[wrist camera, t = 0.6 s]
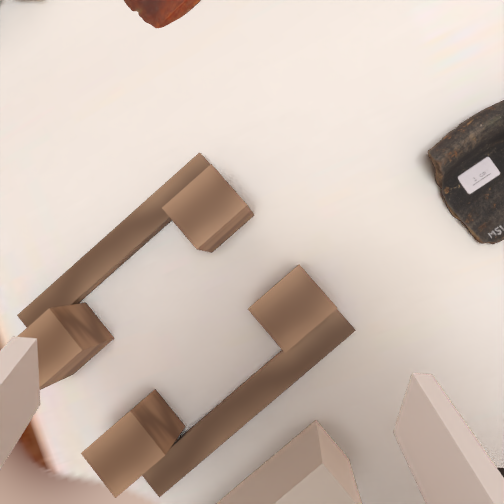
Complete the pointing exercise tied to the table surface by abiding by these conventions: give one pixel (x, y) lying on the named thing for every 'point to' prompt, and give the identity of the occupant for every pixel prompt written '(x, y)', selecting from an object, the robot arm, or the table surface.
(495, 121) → the pottery fragment
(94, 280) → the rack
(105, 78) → the table surface
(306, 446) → the light grey rectangular block
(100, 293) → the table surface
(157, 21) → the wooden tablet
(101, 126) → the table surface
